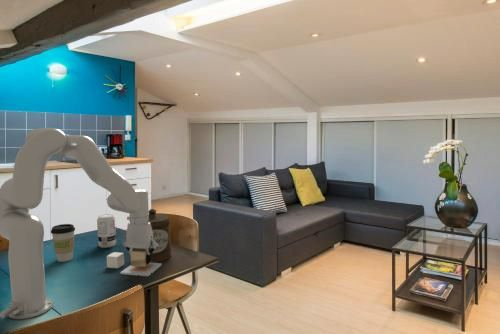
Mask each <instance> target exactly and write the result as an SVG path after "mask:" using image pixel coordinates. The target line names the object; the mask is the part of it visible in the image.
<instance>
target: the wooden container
mask: <svg viewBox="0 0 500 334" xmlns="http://www.w3.org/2000/svg"><path fill="white" fill-rule="evenodd" d="M149 222H150V223H151V226H152V231H153V239H154V240H155V242H156V243H157V244H158V245H159V246H158V247H157V248H156V249H155V250H154V251H153V252H152V262H151V263H159V262H163V261H165V260H168V259H169V258H171V256H172V243H171V241H172V240H171V228H170V216H169V215H168V214H164V213H163V214H162V213H157V210H156V209H154V208H149ZM151 248H153V245H152V246H151Z"/></svg>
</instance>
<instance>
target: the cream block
mask: <svg viewBox="0 0 500 334" xmlns="http://www.w3.org/2000/svg"><path fill="white" fill-rule="evenodd" d="M123 265H125V253H124V252H117V251H114V252H111V253H109V254H108V255H106V268H107V269H108V268H110V269H119V268H121V267H122V266H123Z"/></svg>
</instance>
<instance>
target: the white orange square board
mask: <svg viewBox="0 0 500 334" xmlns="http://www.w3.org/2000/svg"><path fill="white" fill-rule="evenodd" d="M162 264H163V263H162V262H161V263H159V262H150V263H149V264H148V265H147V266H145V267H139V266H131V264H130V265H129V266H127V267H126V268H124V269H123V270H122V271H120V275H128V276H138V275H139V277H140V276H141V277H149V276H151V275H152V274H153V273H154V272H155V271H156V270H158V269H159V268H160V267H162V266H163V265H162ZM151 273H152V274H151Z"/></svg>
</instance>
